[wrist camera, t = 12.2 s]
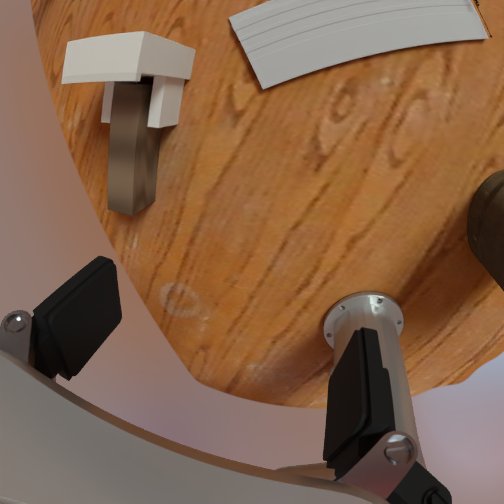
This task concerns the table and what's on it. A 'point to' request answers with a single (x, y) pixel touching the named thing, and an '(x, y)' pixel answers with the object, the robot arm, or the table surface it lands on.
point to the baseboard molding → (345, 31)
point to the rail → (132, 150)
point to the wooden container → (489, 226)
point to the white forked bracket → (133, 69)
